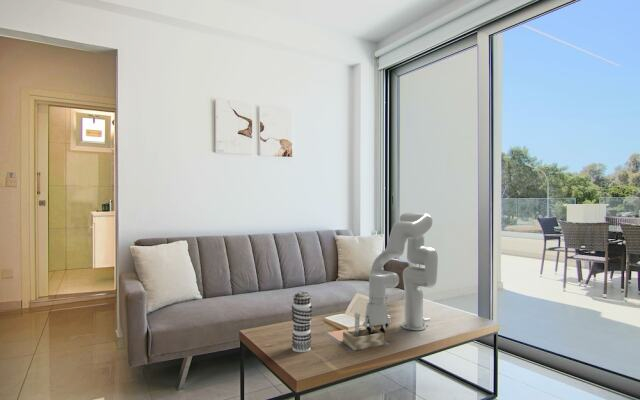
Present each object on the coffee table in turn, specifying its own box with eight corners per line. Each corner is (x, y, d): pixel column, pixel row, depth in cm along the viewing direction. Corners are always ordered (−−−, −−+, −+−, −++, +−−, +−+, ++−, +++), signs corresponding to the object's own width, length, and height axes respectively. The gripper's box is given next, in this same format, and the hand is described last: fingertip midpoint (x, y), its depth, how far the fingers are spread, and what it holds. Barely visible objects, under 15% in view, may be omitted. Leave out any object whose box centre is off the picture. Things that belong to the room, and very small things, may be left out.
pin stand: (359, 329, 201) (360, 299, 201) (390, 346, 178) (390, 312, 178) (323, 335, 192) (323, 303, 192) (350, 354, 168) (350, 318, 168)
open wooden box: (372, 337, 186) (372, 326, 186) (384, 344, 178) (384, 333, 178) (342, 342, 179) (343, 331, 179) (354, 350, 170) (354, 338, 170)
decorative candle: (300, 343, 181) (301, 289, 181) (316, 348, 175) (316, 292, 175) (287, 348, 174) (287, 293, 174) (302, 354, 168) (302, 296, 168)
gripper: (387, 296, 189) (387, 333, 189) (357, 300, 181) (356, 339, 181) (396, 300, 182) (396, 338, 182) (365, 304, 174) (365, 344, 175)
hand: (376, 338), depth 182 cm, fingers open, 5 cm apart
